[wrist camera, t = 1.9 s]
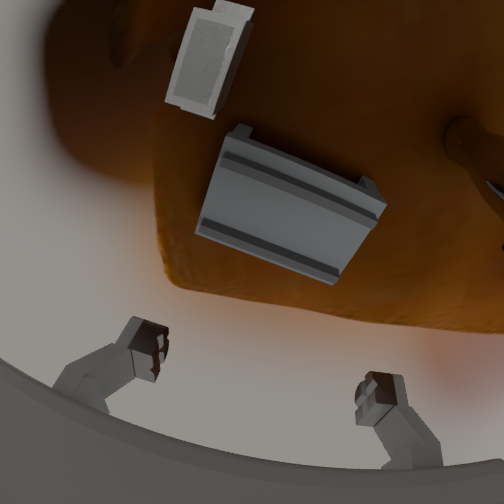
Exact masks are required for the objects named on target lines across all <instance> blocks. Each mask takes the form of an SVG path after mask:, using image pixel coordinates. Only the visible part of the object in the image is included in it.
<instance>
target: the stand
mask: <svg viewBox="0 0 504 504" xmlns="http://www.w3.org/2000/svg"><path fill="white" fill-rule="evenodd" d="M252 129H253V128H252V127H249V126H247V125H244V124H241V123H239V124H238V125H237V126H236V128H235V129H234V130H233V131H232V132H230V131H229V132H228V134H227V135H226V137H225V139H224V142H223V145H222V148H221V151H220V154H219V157H218V160H217V163H216V166H215V169H214V172H213V176H212V179H211V182H210V185H209V188H208V191H207V194H206V198H205V201H204V204H203V207H202V211H201V214H200V217H199V221H198V224H197V227H196V231H195V234H198V235H200V236H203V237H205V238H208V239H211V240H213V241H216V242H219V243H221V244H224V245H227V246H229V247H232V248H235V249H237V250H240V251H242V252H245V253H248V254H250V255H253V256H256V257H258V258H261V259H264V260H266V261H269V262H272V263H274V264H277V265H280V266H282V267H285V268H288V269H290V270H293V271H295V272H298V273H301V274H303V275H306V276H309V277H311V278H314V279H317V280H319V281H322V282H325V283H327V284H330V285H333V283H334V284H336V282H337V281H338V279H339V275H340V274H341V272H342V271H343V269H344V268H345V267H346V265H347V264H348V262H349V261H350V259H351V258H352V257H353V255H354V254H355V252H356V251H357V249H358V248H359V246H360V245H361V243H362V242H363V241H364V239H365V238H366V236H367V235H368V233H369V232H370V230H371V229H372V230H373V229H374V228H375V226H376V225H377V223H378V220H377V219H378V218H379V216H380V215H381V213H382V212H383V210H384V209H385V207H386V206H387V204H386V201H385V199H384V198H383V197H381V196H380V194H379V191H378V189H377V187H376V184H375V182H374V181H373V180H371V179H369V178H367V177H365V176H363V175H362V176H361V178H360V180H359V182H358V183H357V184H355V183H353V182H351V181H349V180H346V179H344V178H342V177H340V176H338V175H336V174H333V173H331V172H329V171H327V170H324V169H322V168H320V167H318V166H315V165H313V164H311V163H308V162H306V161H304V160H301V159H299V158H297V157H294V156H292V155H289V154H287V153H285V152H282V151H280V150H277V149H275V148H272V147H270V146H267V145H264V144H262V143H259V142H257V141H254V140H251V139H249V137H250V134H251V132H252Z"/></svg>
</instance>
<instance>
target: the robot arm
mask: <svg viewBox="0 0 504 504" xmlns="http://www.w3.org/2000/svg"><path fill="white" fill-rule="evenodd" d="M168 334H169V328H168V327H166V326H163V325H159V324H157V323H153V322H150V321H148V320H145V319H141V318H138V317H135V316H133V317H132V318H130V320H129V321H128V323H127V325H126V326H125V328H124V330H123V331H122V333H121V335H120V336H119V338H118V340H117V341H116V343H115V344H113V343H111V344H109V345H107V346H105V347H103V348H101V349H98V350H97V351H94V352H92V353H90V354H88V355H86V356H84V357H82V358H80V359H78V360H76V361H74V362H72V363H70V364H68V365H66V367H65V368H64V370H63V371H62V373H61V374H60V376H59V378H58V379H57V381H56V382H55V384H54V385H53V387H52V388H51V387H49V386H47V385H45V384H43V383H41V382H39V381H38V380H36V379H34V378H32V377H31V376H28V375H27V374H25V373H24V372H22V371H20V370H19V369H17V368H15V367H14V366H12V365H10V364H9V363H7V362H6V361H4V360H3V359H1V358H0V504H504V460H502V459H492V460H486V461H481V462H474V463H468V464H460V465H452V466H443V459H442V452H441V446H440V442H439V441H438V439H437V438H436V437H435V436H434V434H433V433H432V432H431V431H430V429H429V428H428V427H427V426H426V424H425V423H424V422H423V421H422V419H421V418H420V417H419V416H418V414H417V413H416V412H415V411H414V409H413V408H412V407H409V406H408V400H407V394H406V390H405V384H404V379H403V376H402V375H397V374H390V373H382V372H374V371H370V372H368V373H367V374H366V375H365V380H364V381H362V382H360V384H359V385H358V387H357V389H356V392H355V404H356V405H357V406H358V409H357V410H356V412H355V415H356V425H360V426H370V427H374V430H375V432H376V433H377V435H378V437H379V439H380V440H381V442H382V444H383V446H384V447H385V449H386V451H387V453H388V454H389V456H390V458H391V460H390V461H389V462H388V463H386V464H385V465H383V466H382V467H381V469H377V470H376V469H345V468H331V467H330V468H329V467H319V466H309V465H300V464H292V463H285V462H278V461H272V460H265V459H260V458H254V457H249V456H243V455H239V454H234V453H229V452H225V451H221V450H217V449H213V448H208V447H205V446H201V445H197V444H193V443H190V442H186V441H183V440H179V439H175V438H173V437H169V436H166V435H163V434H160V433H157V432H154V431H151V430H148V429H145V428H142V427H140V426H137V425H134V424H131V423H129V422H126V421H124V420H121V419H118V418H116V417H113V416H111V415H109V413H110V412H109V410H108V407H107V405H106V402H105V398H107V397H108V396H110V395H111V394H113V393H114V392H116V391H117V390H119V389H120V388H122V387H123V386H124V385H126V384H127V383H129V382H130V381H132V380H133V379H135V377H137V378H140V379H143V380H147V381H150V382H153V383H155V381H156V379H157V377H158V375H159V372H160V364H161V363H163V362H164V361H165V359H166V356H167V353H168V348H169V340H168V339H167V336H168Z"/></svg>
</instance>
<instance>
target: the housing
mask: <svg viewBox="0 0 504 504" xmlns="http://www.w3.org/2000/svg"><path fill="white" fill-rule="evenodd" d="M254 12H255V9H254V8H251V7H247V6H244V5H240V4H236V3H232V2H228V1H224V0H216V2H215V5H214V7H213V10H212V11H210V10H205V9H201V8H196V7H194V9H193V12H192V14H191V17H190V20H189V23H188V26H187V29H186V32H185V35H184V38H183V41H182V44H181V47H180V50H179V53H178V57H177V60H176V63H175V67H174V70H173V73H172V77H171V81H170V84H169V88H168V91H167V95H166V99H165V102H167V103H170V104H173V105H177V106H180V107H181V108H180V109H182V110H185V111H189V112H192V113H195V114H198V115H201V116H204V117H207V118H210V119H213V120H214V119H215V118H216V115H217V112H218V111H219V110H220V109H222V108H223V107H224V105H225V102H226V99H227V96H228V94H229V91H230V88H231V85H232V82H233V80H234V77H235V74H236V71H237V69H238V66H239V63H240V61H241V58H242V55H243V53H244V50H245V47H246V45H247V42H248V40H249V37H250V35H251V32H252V30H253V27H254V25H255V24H254V23H252V22H251V19H252V17H253V14H254Z"/></svg>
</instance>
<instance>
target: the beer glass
mask: <svg viewBox="0 0 504 504" xmlns="http://www.w3.org/2000/svg"><path fill="white" fill-rule="evenodd" d="M444 146H445V150H446V152H447V154H448V156H449V157H450V158H451V160H452V161H454V162H455V163H457V164H458V165H460V166H462V167H464V168H465V169H466V170H467V172H468V173H469V175H470V177H471V179H472V181H473V183H474V184H475V186H476V188H477V190H478V191H479V193H480V195H481V196H482V198H483V199H484V200H485V201H486V203H487V204H488V205H489V207H490V208H491V209H492V210H493V211H494V212H495V213H496V214H497V215H498V217H499V218H500V219H501V220H502V221H503V222H504V136H502V135H499V134H495V133H492V132H489V131H487V130H486V129H485V128H484V127H483V125H482V124H481V123H480V122H479V121H477V120H476V119H474V118H472V117H467V116H464V117H459V118H457V119H455V120H454V121H452V122H451V123H450V125H449V126H448V128H447V130H446V132H445V136H444Z"/></svg>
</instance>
